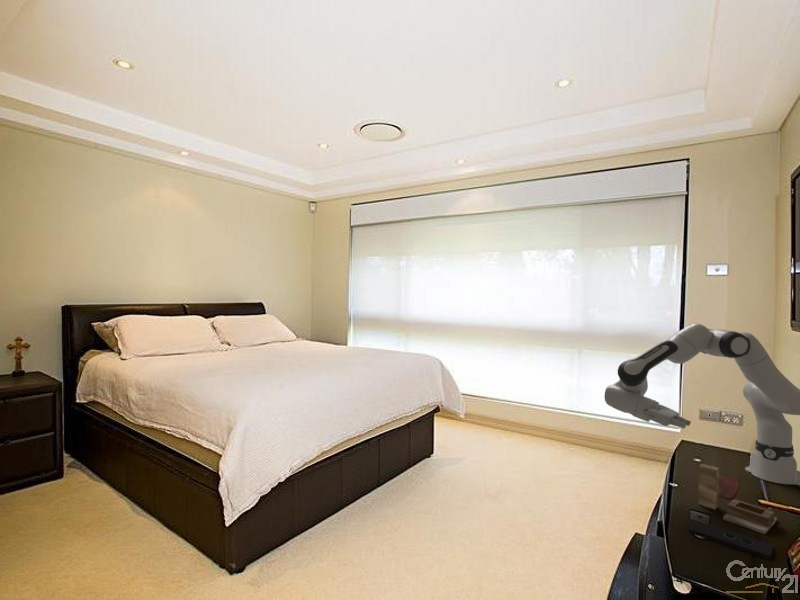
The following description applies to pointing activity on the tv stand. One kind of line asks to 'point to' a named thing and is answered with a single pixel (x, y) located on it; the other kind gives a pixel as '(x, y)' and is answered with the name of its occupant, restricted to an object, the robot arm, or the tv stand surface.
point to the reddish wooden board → (727, 486)
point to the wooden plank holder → (750, 516)
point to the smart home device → (731, 539)
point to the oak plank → (708, 486)
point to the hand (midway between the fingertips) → (687, 425)
